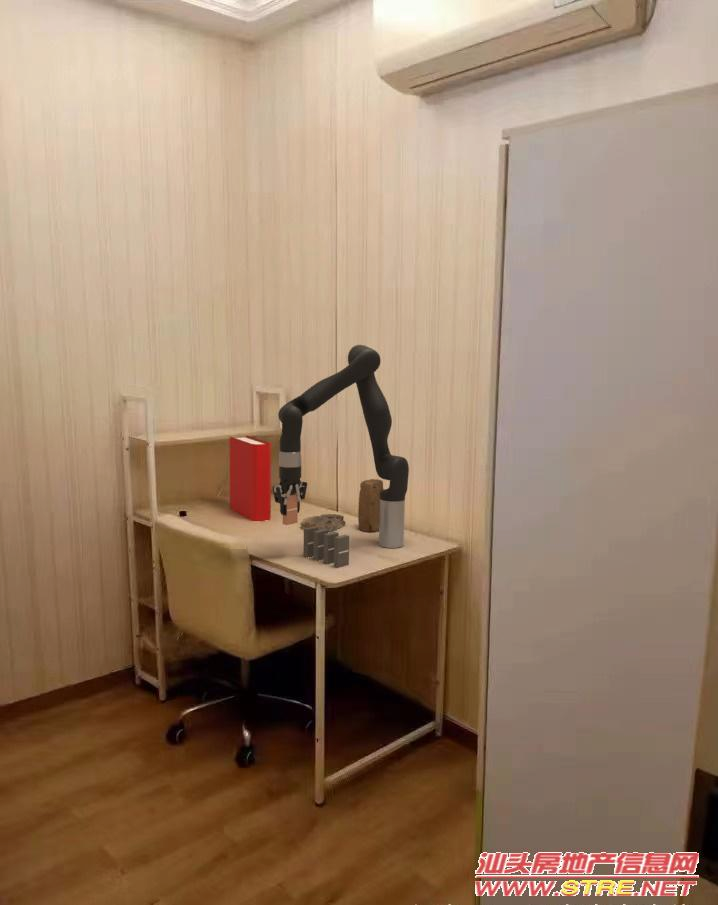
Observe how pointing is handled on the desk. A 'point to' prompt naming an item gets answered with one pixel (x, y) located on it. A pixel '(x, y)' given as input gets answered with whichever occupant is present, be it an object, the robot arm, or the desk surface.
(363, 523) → the block
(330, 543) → the domino
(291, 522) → the domino
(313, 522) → the flat rock
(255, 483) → the book
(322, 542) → the domino
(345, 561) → the domino
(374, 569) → the desk surface
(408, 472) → the robot arm
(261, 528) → the desk surface
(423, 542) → the desk surface
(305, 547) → the domino
